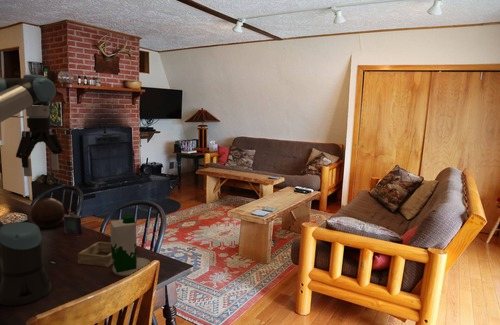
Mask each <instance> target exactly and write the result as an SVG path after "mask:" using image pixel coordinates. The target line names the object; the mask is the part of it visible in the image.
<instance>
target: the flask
mask: <svg viewBox="0 0 500 325" xmlns="http://www.w3.org/2000/svg"><path fill="white" fill-rule="evenodd" d="M63 226H64V227H63V228H64V234H66V235H75V236H81V235H82V234H83V233H82V221H81V216H79V215H76V214H75V212H73V211H72V212H70V213H69V214H64V216H63Z"/></svg>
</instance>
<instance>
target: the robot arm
mask: <svg viewBox="0 0 500 325" xmlns="http://www.w3.org/2000/svg"><path fill="white" fill-rule="evenodd" d="M56 93H57V88H56V85H55V84H54V82H53V81H52V80H51V79H49V78H47V77H46V76H44V75H39V74H24V75H23V77H22V78H21V77H20V78H18V77H17V78H8V77H7V78H6V77H0V123H2V122H4V121H5V120H8V119H9V118H11V117H13V116H16V115H17V114H19V113H21V112H23V111H24V110H25V114H26V115H25V116H26V117H27V118H26V127H27V128H28V129H29V130H22V131H21V139H20V142H19V145H18V148H17V151H16V153H15V157H16V158H18V159H21V167H22V169H23V177H32V175H33V173H32V171H33V170H32V160H31V158H30V156H31V154H32V152H33V151H34V148H35V147H36V145H37V144H38V143H44V144H45V145H46V146H47V148H48V149H49V150H50V152H51V153H50V162H51V170H52V171H60V164H59V163H60V154H62V152H63V151H64V150H63V146H62V145H61V143H60V140H59V139H58V135H57V133H56V128H55V129H53V128H51V119H50V118H49V116H50V110H49V109H50V108H49V106H50V105H49V101H52V100H53V99H54V98H55V96H56V95H57V94H56ZM42 238H43V237H42V233H41V229H40V226H38V225H37V224H35V223H33V222H26V221H23V222H20V221H18V222H10V223H6V224H4V223H3V222H2V221H1V220H0V268H1V279H0V305H3V306H7V307H8V306H10V307H14V306H22V305H25V304H30V303H34V302H35V301H38V300H40V299H42V298H44V297H45V296H47V295H48V294H49V293H50V292H51V290H52V283H51V279H50V278H49V275H48V274H47V272H46V270H45V268H44V258H43V256H44V255H43V243H42V242H43V240H42Z"/></svg>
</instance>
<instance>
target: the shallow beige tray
mask: <svg viewBox="0 0 500 325" xmlns="http://www.w3.org/2000/svg"><path fill="white" fill-rule="evenodd" d="M100 252H102V253H108V254H107V255H106V254H105V255H104V254H98V253H100ZM77 264H81V265H82V264H83V265H91V266H98V267H106V268H108V267H110V266H111V265H114V263H113V259H112V254H111V242H107V241H96V242H95V243H93V244H92V245H90V246H89V247H87V248H85V249H83V250H82V251H80V252H78V253H77Z"/></svg>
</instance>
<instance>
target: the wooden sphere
mask: <svg viewBox="0 0 500 325" xmlns="http://www.w3.org/2000/svg"><path fill="white" fill-rule="evenodd" d="M63 216H65V208H64V205H63V203H62V202H60V200H57V199H55V198H52V197H47V198H46V197H45V198H42V199H40V200H38V201H36V203H34V205H33V206H32V208H31V210H30V217H31V220H32V221H33V222H34V223H33V222H32V223H33V224H35V225H37V226H38V227H39V228H40V227H41V228H45V229H47V228H53V227H55V226H57V225H58V224H60V223H61V222H62V220H64V218H63Z"/></svg>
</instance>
